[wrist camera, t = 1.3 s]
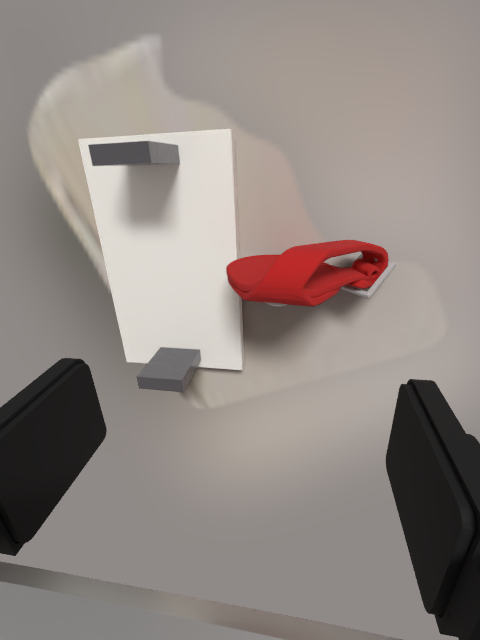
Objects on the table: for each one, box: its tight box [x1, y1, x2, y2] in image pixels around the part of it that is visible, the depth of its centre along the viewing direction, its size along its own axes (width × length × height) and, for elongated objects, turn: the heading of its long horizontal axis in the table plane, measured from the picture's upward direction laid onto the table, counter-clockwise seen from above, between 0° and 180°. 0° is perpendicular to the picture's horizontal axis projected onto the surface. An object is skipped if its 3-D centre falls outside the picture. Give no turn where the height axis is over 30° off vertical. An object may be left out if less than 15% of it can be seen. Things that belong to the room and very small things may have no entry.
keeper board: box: [78, 129, 244, 392], centre depth 27 cm, size 12×20×6 cm, turn 3°
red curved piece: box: [226, 240, 396, 307], centre depth 22 cm, size 12×4×10 cm, turn 89°
